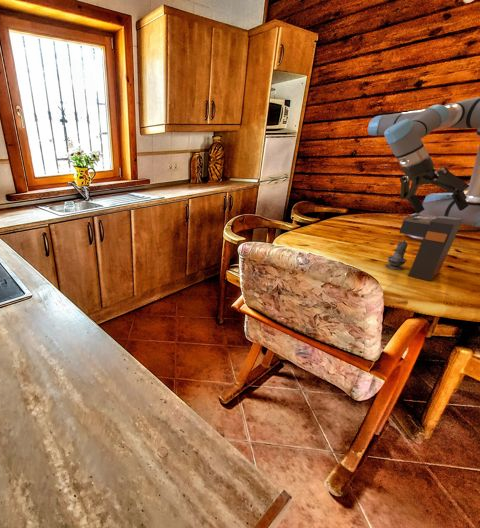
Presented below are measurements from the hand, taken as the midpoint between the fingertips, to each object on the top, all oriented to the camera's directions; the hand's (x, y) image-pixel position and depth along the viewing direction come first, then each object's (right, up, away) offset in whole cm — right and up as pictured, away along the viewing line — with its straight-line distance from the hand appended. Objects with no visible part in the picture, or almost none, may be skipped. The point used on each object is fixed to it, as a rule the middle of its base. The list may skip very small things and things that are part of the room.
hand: (441, 210), depth 103 cm
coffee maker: (-2, -23, +9) cm, 25 cm away
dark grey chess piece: (-5, -22, +13) cm, 26 cm away
